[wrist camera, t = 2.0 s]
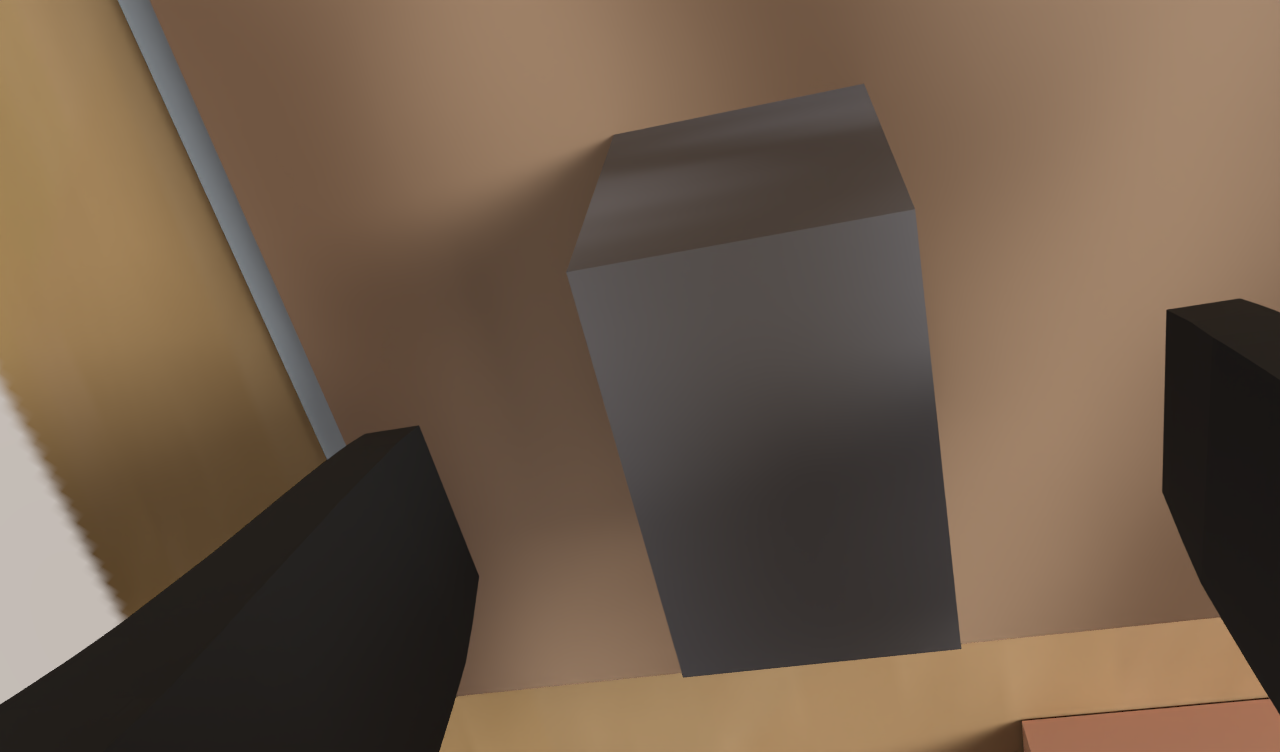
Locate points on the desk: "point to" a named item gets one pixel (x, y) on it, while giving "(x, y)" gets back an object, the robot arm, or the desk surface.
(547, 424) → the walnut lid
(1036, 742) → the pink open box
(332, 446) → the rubber mat
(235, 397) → the desk surface
